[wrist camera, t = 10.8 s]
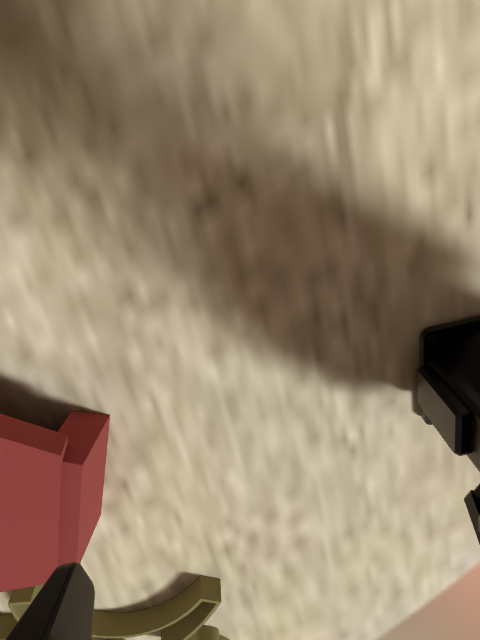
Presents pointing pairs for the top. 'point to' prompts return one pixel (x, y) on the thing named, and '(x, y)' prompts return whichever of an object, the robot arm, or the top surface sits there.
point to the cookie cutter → (142, 615)
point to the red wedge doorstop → (48, 494)
